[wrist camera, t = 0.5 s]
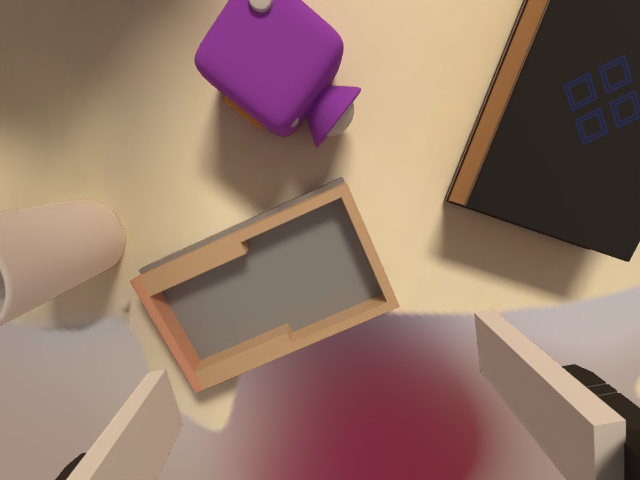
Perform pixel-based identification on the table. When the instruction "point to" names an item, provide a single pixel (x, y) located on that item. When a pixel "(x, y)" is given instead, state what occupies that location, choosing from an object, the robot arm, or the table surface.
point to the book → (562, 127)
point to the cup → (54, 251)
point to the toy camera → (278, 67)
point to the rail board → (266, 286)
